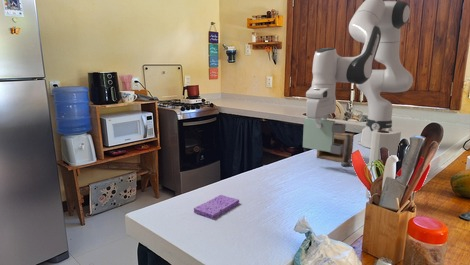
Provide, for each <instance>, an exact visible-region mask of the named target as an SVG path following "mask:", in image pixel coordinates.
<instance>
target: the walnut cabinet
mask: <svg viewBox="0 0 470 265" xmlns="http://www.w3.org/2000/svg"><path fill="white" fill-rule="evenodd" d="M354 136H355V134H354V133H347V132H344V133H342V134H339V133H334V143H336V144H342V145H344V152H343V153H342V154H334V153H330V152H326V151H321V150H316V158H317V159H321V160H326V161H332V162H337V163H340V166H342V167H347V168H349V167H351V159H352V158H351V154H352V155H353V149H354V148H353V146H354Z"/></svg>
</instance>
